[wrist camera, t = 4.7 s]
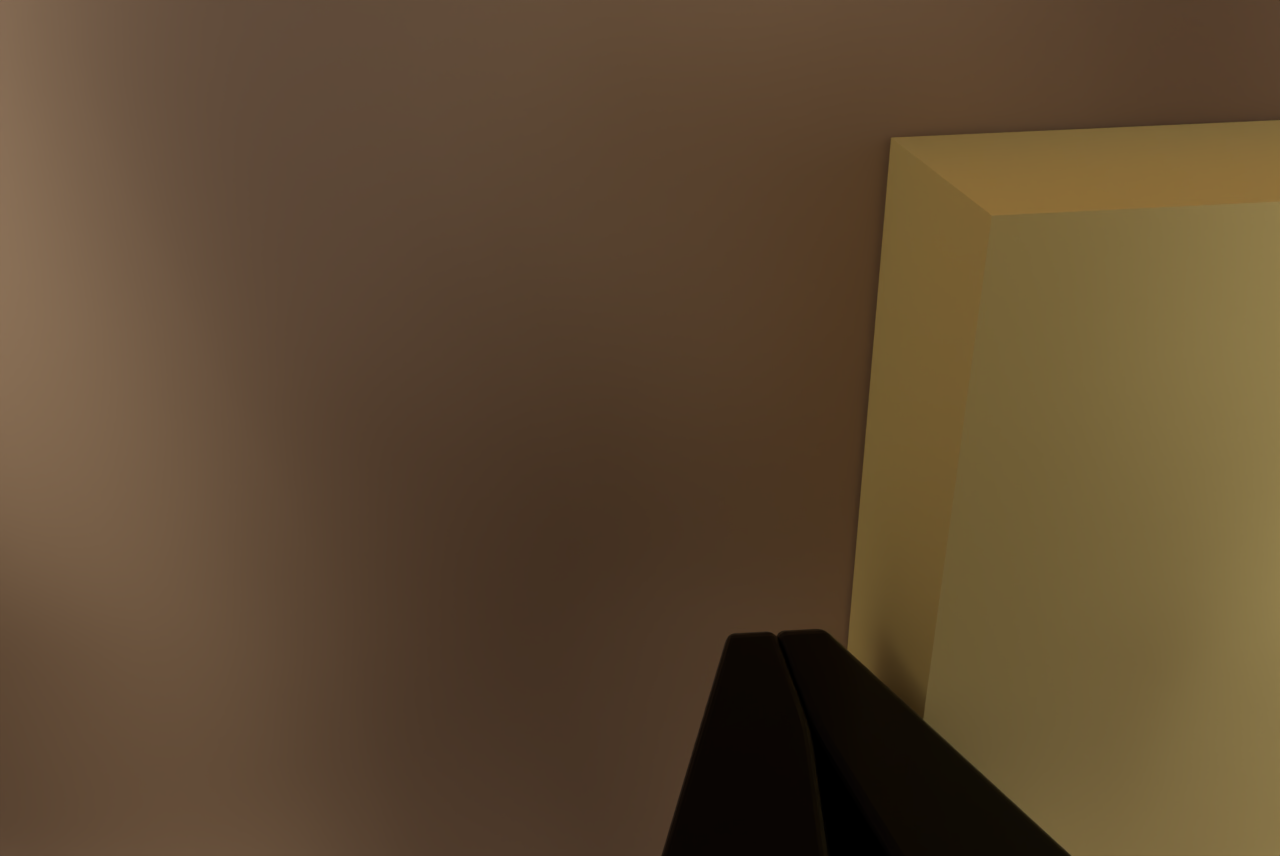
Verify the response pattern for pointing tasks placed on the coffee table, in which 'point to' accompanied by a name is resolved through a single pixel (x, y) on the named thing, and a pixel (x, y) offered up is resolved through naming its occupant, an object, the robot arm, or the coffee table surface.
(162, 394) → the deck
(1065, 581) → the bevelled yellow tile
